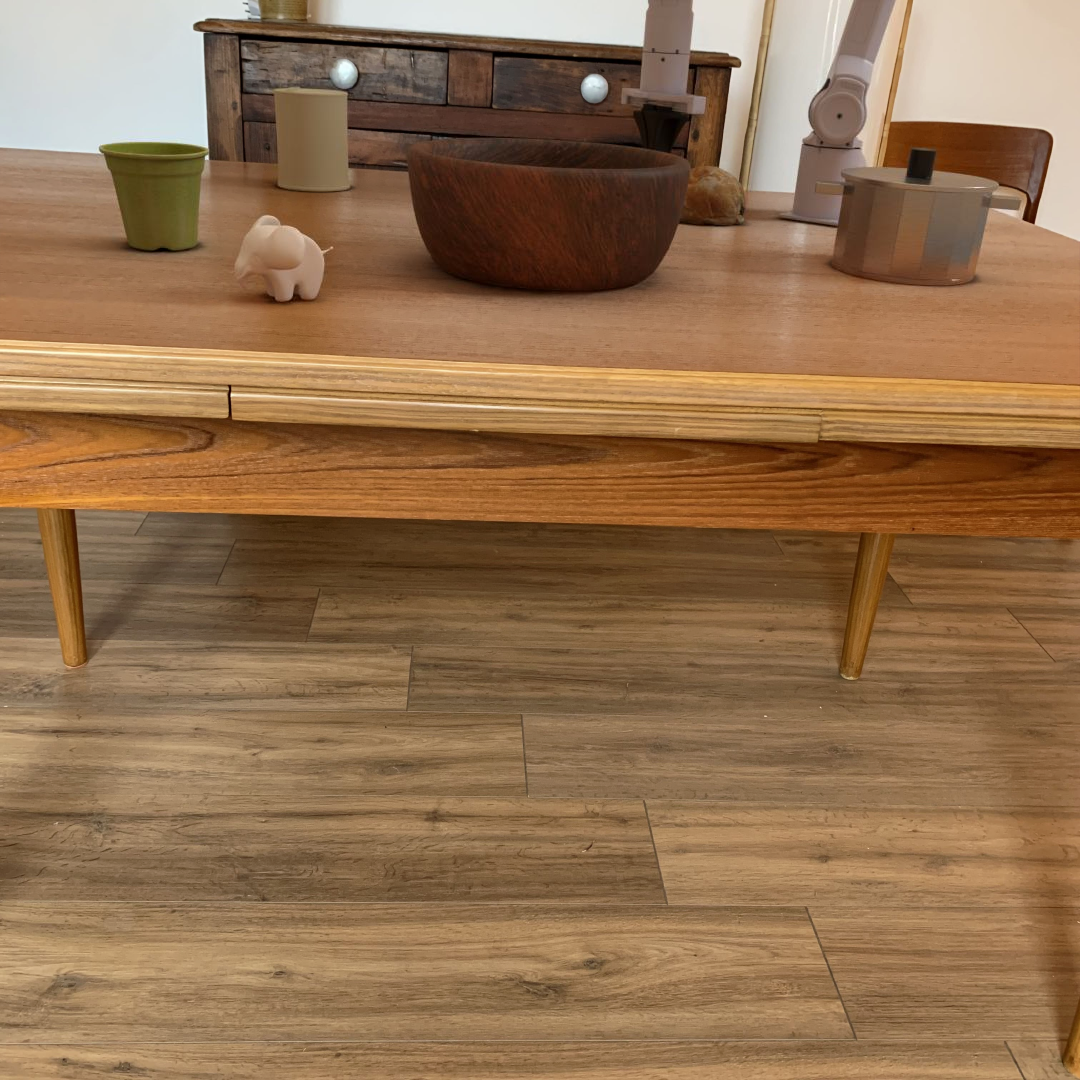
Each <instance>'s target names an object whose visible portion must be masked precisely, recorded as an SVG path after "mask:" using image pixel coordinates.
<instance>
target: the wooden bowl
mask: <svg viewBox="0 0 1080 1080" xmlns="http://www.w3.org/2000/svg"><path fill="white" fill-rule="evenodd" d="M406 164H407V173H408V180H409V181H408V182H409V188H410V195H411V202H412V208H413V212H414V213H413V214H414V217H415V221H416V225H417V227H418V230H419V234H420V237H421V240H422V242H423V244H424V246H425V248H426V250H427V252H428V254H429V255H430V257H431V258H432V260H433V262H434V263H435V264H436V265H437V266H438V267H439V268H440V269H441V270H442V271H444V272H446V273H448V274H450V275H453V276H455V277H459V278H461V279H466V280H469V281H472V282H478V283H484V284H488V285H494V286H502V287H508V288H518V289H530V290H545V291H593V290H606V289H614V288H615V289H616V288H621V287H622V288H623V287H626V286H631V285H635V284H637V283H641V282H643V281H645V280H646V279H647V278H649V277H650V276H651V275H653V274H654V272H655V271H656V270H657V269H658V267H660V265H661V263H662V262H663V260H664V258H665V256H666V255H667V253H668V251H669V250H670V247H671V245H672V243H673V240H674V238H675V236H676V233H677V230H678V227H679V223H680V222H679V221H680V217H681V213H682V209H683V205H684V201H685V197H686V193H687V188H688V184H689V179H690V173H691V169H692V168H691V167H692V166H691V163H690V162H689V161H688V160H687V159H686V158H685V157H682V156H680V155H676V154H673V153H671V154H669V153H665V152H660V151H655V150H649V149H643V147H635V146H628V145H619V144H611V143H600V142H590V141H577V140H563V139H547V138H546V139H544V138H524V137H523V138H522V137H521V138H520V137H519V138H518V137H463V138H462V137H461V138H460V137H458V138H444V139H443V138H442V139H432V140H425V141H421V142H416V143H413V144H412V145H410V146H409V147H408V148H407V152H406Z"/></svg>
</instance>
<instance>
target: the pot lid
mask: <svg viewBox="0 0 1080 1080" xmlns="http://www.w3.org/2000/svg"><path fill="white" fill-rule="evenodd" d="M909 151H910V152H909V157H908V163H907V166H906V168H905V167H886V166H884V167H883V166H867V167H854V168H846V169H843V170H842V171H841V177H843V178H845V179H847V180H851V181H855V182H859V183H864V184H870V185H876V186H883V187H890V188H899V189H908V190H919V191H932V192H950V193H984V192H992V191H993V192H995V191H997V190H998V189H999V186H1000V184H999V182H997V181H995V180H993V179H991V178H990V179H989V178H986V177H981V176H977V175H970V174H963V173H958V172H957V173H955V172H949V171H940V170H934V169H935V165H936V164H935V163H936V159H937V152H938V150H937V149H935V148H925V147H912V148H910V150H909Z"/></svg>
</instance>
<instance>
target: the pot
mask: <svg viewBox="0 0 1080 1080" xmlns="http://www.w3.org/2000/svg"><path fill="white" fill-rule="evenodd" d="M815 193H821V194H832V195H843V196H842V202H841V208H840V215H839V221H838V226H837V228H836V232H835V239H834V246H833V253H832V257H831V258H832V259H831V266H832V267H833V268H834V269H836V270H837V271H840V272H842V273H846V274H849V275H851V276H852V275H853V276H856V277H859V278H865V279H870V280H875V281H880V282H888V283H895V284H903V285H917V286H956V285H962V284H967V283H970V282H972V280H973V279H974V276H975V275H976V271H977V265H978V261H979V258H980V257H979V256H980V252H981V248H982V242H983V239H984V234H985V231H986V230H985V229H986V225H987V220H988V215H989V210H990V209H997V210H1009V211H1020V209H1021V205H1022V199H1021V197H1019V196H1014V195H1004V194H1003V195H1001V194H993V193H994V191H992V192H984V193H950V192H932V191H919V190H908V189H899V188H890V187H883V186H876V185H870V184H864V183H859V182H855V181H851V180H847V179H845V182H836V181H824V180H817V182H816V187H815Z"/></svg>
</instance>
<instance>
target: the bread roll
mask: <svg viewBox="0 0 1080 1080" xmlns="http://www.w3.org/2000/svg"><path fill="white" fill-rule="evenodd" d="M746 203H747V202H746V195H745V191H744V187H743V185H742V184H741V182H740V180H738V179H737V178H736V176H735V175H733V174H732V173H730V172H728V171H726V170H724V169H723V168H721V167H717V166H715V165H714V166H713V165H699V166H696V167H692V168H691V173H690V179H689V184H688V188H687V193H686V197H685V201H684V205H683V209H682V213H681V217H680V221H679V223H683V224H691V225H699V226H701V225H715V226H732V225H741V224H742V223H744V222H745V218H744V214H745V211H746Z"/></svg>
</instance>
